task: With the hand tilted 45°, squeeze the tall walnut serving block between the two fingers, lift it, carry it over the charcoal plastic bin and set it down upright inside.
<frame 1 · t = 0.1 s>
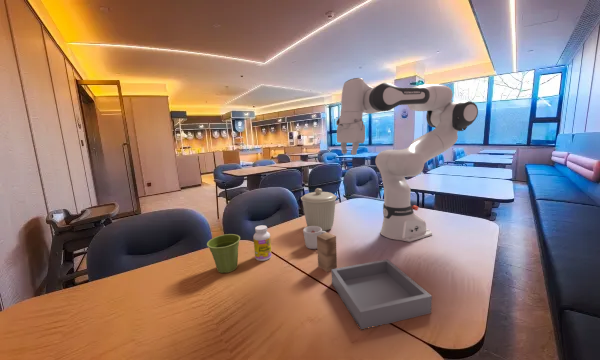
hand: (348, 154, 101), 39 cm above the table, tool pointing down, fingers open, 8 cm apart
supplement bottle: (263, 257, 98), on the table
bin: (376, 296, 71), on the table
plant pot: (227, 268, 91), on the table
cup: (316, 247, 105), on the table
canister: (320, 228, 126), on the table
walnut block: (327, 266, 88), on the table
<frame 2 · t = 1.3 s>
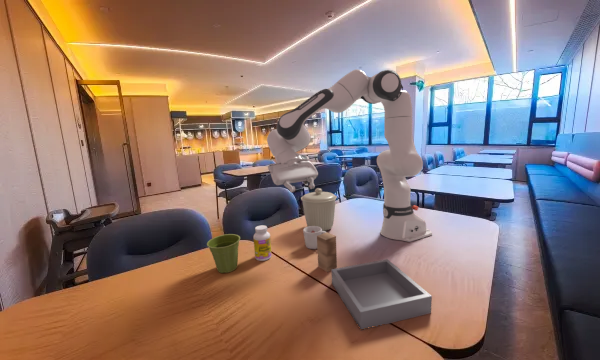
hand: (303, 189, 94), 27 cm above the table, tool tilted 45°, fingers open, 8 cm apart
nothing on the table moved.
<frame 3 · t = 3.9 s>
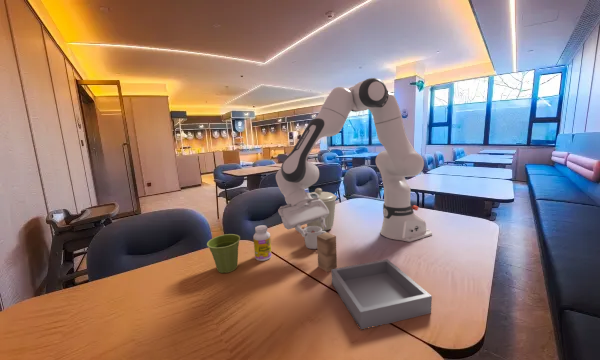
hand: (315, 232, 91), 12 cm above the table, tool tilted 45°, fingers open, 8 cm apart
nothing on the table moved.
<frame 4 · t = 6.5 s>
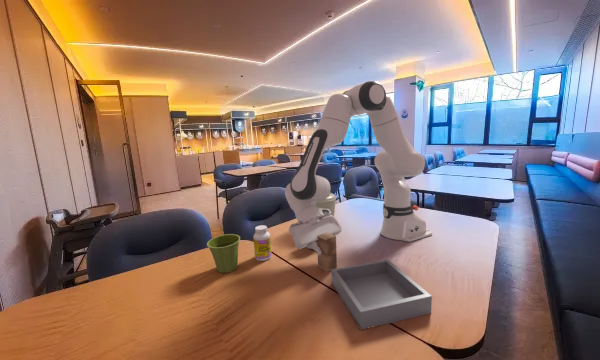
hand: (328, 251, 87), 6 cm above the table, tool tilted 45°, fingers closed on walnut block, 5 cm apart
walnut block: (327, 266, 88), on the table, touching gripper
everything else where it was.
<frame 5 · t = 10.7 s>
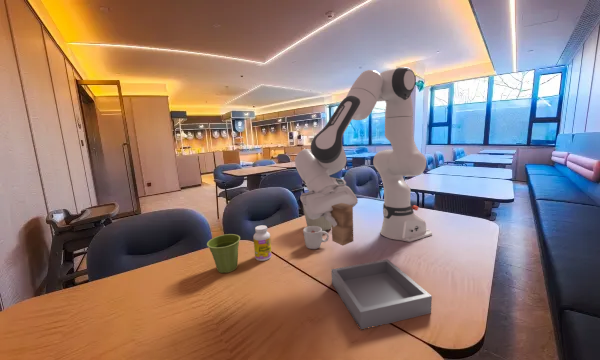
hand: (343, 223, 78), 19 cm above the table, tool tilted 45°, fingers closed on walnut block, 5 cm apart
walnut block: (342, 241, 79), point 13 cm above the table, touching gripper
everything else where it was.
when the fingers open (9 cm above the table, at t = 15.2 s): walnut block drops 1 cm, resting on bin.
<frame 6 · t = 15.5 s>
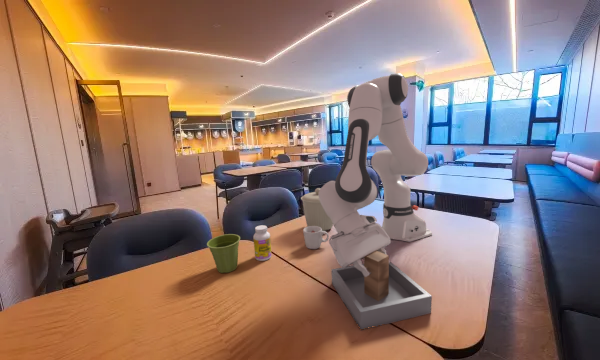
hand: (378, 269, 69), 9 cm above the table, tool tilted 45°, fingers open, 7 cm apart
walnut block: (376, 293, 71), point 1 cm above the table, touching bin
everything else where it was.
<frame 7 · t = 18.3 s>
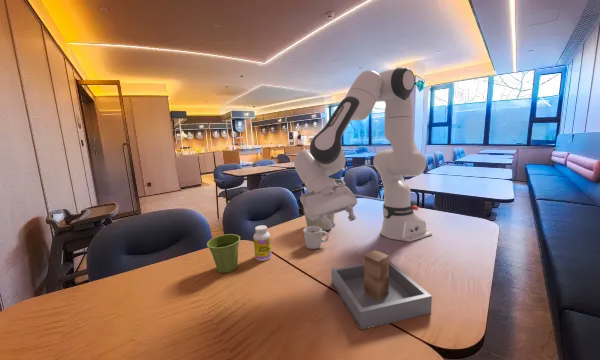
hand: (343, 223, 78), 19 cm above the table, tool tilted 45°, fingers open, 8 cm apart
nothing on the table moved.
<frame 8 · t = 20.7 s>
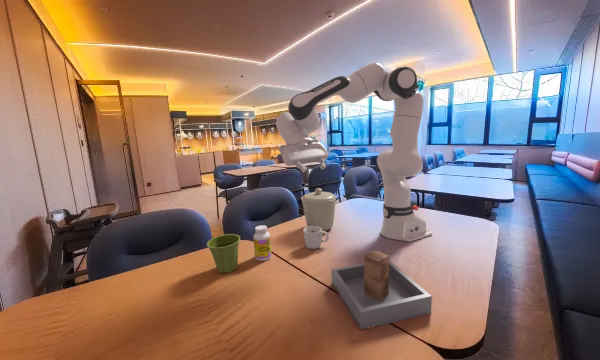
hand: (314, 169, 93), 34 cm above the table, tool tilted 45°, fingers open, 8 cm apart
nothing on the table moved.
at the end: walnut block inside the target area on the bin (0.1 cm from its centre), point 1.0 cm above the bin's base; walnut block tilted 0°; the gripper is holding nothing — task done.
